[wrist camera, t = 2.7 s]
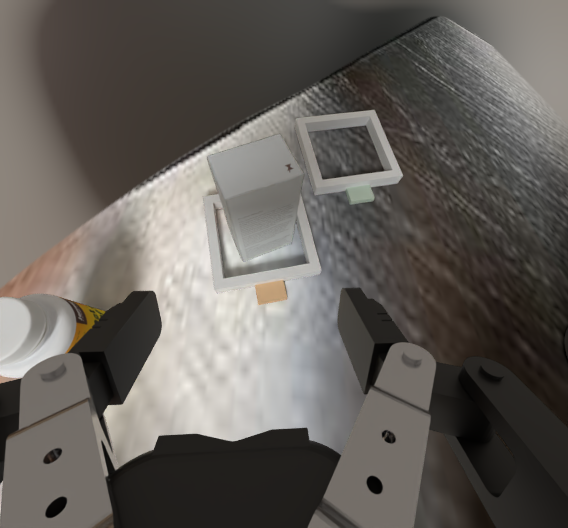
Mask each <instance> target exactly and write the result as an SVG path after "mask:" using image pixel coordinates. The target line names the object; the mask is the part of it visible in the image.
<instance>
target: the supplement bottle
mask: <svg viewBox="0 0 568 528" xmlns="http://www.w3.org/2000/svg"><path fill="white" fill-rule="evenodd" d="M105 312H106V311H102V310H99V309H96V308H93V307H90V306H87V305H83V304H80V303H77V302H74V301H70V300H67V299H64V298H61V297H58V296H54V295H50V294H32V295H27V296H24V297H21V298H13V297H0V375H1V376H5V377H10V378H23V376H24V375H25V373H26V372H27V371H28V370H30V369H31V368H32V367H33V366H35V365H36V364H38V363H40V362H41V361H43V360H45V359H47V358H50V357H53V356H56V355H59V354H65V353H68V352H69V351H70V350H71V348H72V347H73V346H74V345H75V344H76V343H77V342H78V341H79V340H80V339H81V338H82V337H83V336H84V335H85V334H86V332H87V331H88V330H89V329H92V326H93V325H94V324H95V323H96V322H97V321H99V319H100V317H101V316H102V315H103V314H104V313H105Z"/></svg>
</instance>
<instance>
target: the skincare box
mask: <svg viewBox="0 0 568 528" xmlns="http://www.w3.org/2000/svg"><path fill="white" fill-rule="evenodd" d="M207 160H208V163H209V167H210V170H211V173H212V176H213V179H214V182H215V185H216V188H217V191H218V195H219V198H220V201H221V204H222V207H223V210H224V213H225V217H226V220H227V223H228V226H229V229H230V232H231V235H232V237H233V240H234V242H235V245H236V247H237V250H238V252H239V255H240V257H241V259H242V261H243V262H246V261H248V260H251V259H253V258H256V257H258V256H261V255H263V254H266V253H269V252H271V251H274V250H276V249H279V248H281V247H284V246H287V245H289V244H291V243H292V239H293V233H294V227H295V222H296V216H297V211H298V205H299V200H300V194H301V188H302V183H303V178H304V172H303V171H302V169H301V168H300V166H299V164H298V163H297V161H296V159H295V158H294V156H293V154H292V153H291V151H290V149H289V147H288V146H287V144H286V142H285V140H284V139H283V137H282V136H281V134H276V135H273V136H270V137H267V138H264V139H261V140H258V141H255V142H251V143H248V144H245V145H241V146H238V147H235V148H232V149H229V150H225V151H222V152H219V153H216V154H212V155H209V156H207Z"/></svg>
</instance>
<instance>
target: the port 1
mask: <svg viewBox="0 0 568 528" xmlns="http://www.w3.org/2000/svg"><path fill="white" fill-rule="evenodd" d="M203 203H204V211H205V219H206V227H207V235H208V243H209V251H210V259H211V267H212V275H213V284H214V290H215V292H216V293H217V294H218V293H223V292H229V291H234V290H240V289H245V288H250V287H255V288H256V294H257V299H258V305H261V304H266V303H272V302H277V301H282V300H287V295H286V290H285V285H284V281H288V280H294V279H299V278H305V277H310V276H315V275H319V274H320V272H321V267H320V263H319V259H318V256H317V252H316V248H315V244H314V241H313V237H312V233H311V230H310V226H309V222H308V218H307V215H306V211H305V207H304V204H303V200H302V196H301V194H300V200H299V205H298V211H297V216H296V223H297V227H298V231H299V235H300V239H301V243H302V247H303V251H304V255H305V259H306V263H307V264H303V265H297V266H291V267H286V268H280V269H275V270H269V271H263V272H258V273H252V274H246V275H241V276H235V277H230V278H225V276H224V269H223V262H222V254H221V247H220V240H219V233H218V226H217V219H216V211H215V210H217V209H223V207H222V204H221V201H220V198H219V195H218V194H215V195H208V196H203Z"/></svg>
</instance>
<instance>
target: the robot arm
mask: <svg viewBox="0 0 568 528" xmlns="http://www.w3.org/2000/svg"><path fill="white" fill-rule="evenodd" d="M161 328H162V322H161V317H160V312H159V308H158V303H157V298H156V295H155V293H154V291H133V292H132V293H131V294H130V295H129V296H128V297H127V298H126V299H125V300H124V302H123V303H119V304H117V305H115V306H114V307H112V308H110V309H109V310H107V311H106V312H105V313H104V314H103V315H102V316H101V317H100V319H99V321H97V322H96V323H95V324H94V325H93V326H92V329H89V330H88V331H87V332H86V334H85V335H84V336H83V337H82V338H81V339H80V340H79V341H78V342H77V343H76V344H75V345H74V346H73V347H72V348H71V350H70V351H69V352H68V353H65V354H59V355H56V356H53V357H50V358H47V359H45V360H43V361H41V362H40V363H38V364H36V365H35V366H33V367H32V368H31V369H30V370H28V371H27V372H26V373H25V375H24V376H23V378H21V379H17V380H13V381H9V382H5V383H1V384H0V484H1V482H2V481H3V489H2V502H1V514H0V528H413V527H414V520H415V514H416V508H417V501H418V495H419V489H420V483H421V476H422V470H423V464H424V457H425V451H426V445H427V438H428V432H429V430H433V431H437V432H441V433H444V435H445V437H446V439H447V440H448V442H449V444H450V446H451V448H452V449H453V451H454V453H455V455H456V457H457V458H458V460H459V462H460V464H461V466H462V467H463V469H464V471H465V473H466V475H467V476H468V478H469V480H470V482H471V484H472V486H473V487H474V489H475V491H476V493H477V495H478V496H479V498H480V500H481V502H482V504H483V505H484V507H485V509H486V511H487V513H488V514H489V516H490V518H491V520H492V522H493V523H494V525H495V527H496V528H568V428H567V427H566V426H565V425H564V424H563V423H562V422H561V421H560V420H559V419H558V418H557V417H556V416H555V415H554V414H553V413H552V412H551V411H550V410H549V409H548V408H547V407H546V406H545V405H544V404H543V403H542V402H541V401H540V400H539V399H538V398H537V397H536V396H535V395H534V394H533V393H532V392H531V391H530V390H529V389H528V388H527V387H526V386H525V385H524V384H523V383H522V382H521V381H520V380H519V379H518V378H517V377H516V376H515V375H514V374H513V373H512V372H511V371H510V370H509V369H507V368H506V367H505V366H503V365H501V364H499V363H498V362H495V361H493V360H490V359H488V358H484V357H477V356H474V357H469V358H467V359H466V360H465V361H464V363H463V366H462V367H458V366H453V365H448V364H443V363H439V362H435V360H434V358H433V356H432V355H431V354H430V353H429V352H427V351H426V350H425V349H423V348H421V347H419V346H417V345H414V344H411V343H409V342H408V341H407V340H406V338H405V337H404V335H403V334H402V333H401V331H400V330H399V328H398V327H397V326H396V324H395V323H394V321H392V319H391V317H390V316H389V315H388V314H387V312H386V310H385V309H384V308H383V306H382V305H381V304H379V303H378V302H376V301H375V300H374V299H367V297H366V296H365V294H364V293H363V291H362V290H361V288H342V290H341V295H340V303H339V311H338V329H339V332H340V335H341V337H342V340H343V343H344V345H345V348H346V350H347V353H348V355H349V358H350V360H351V363H352V365H353V368H354V371H355V373H356V376H357V378H358V381H359V383H360V386H361V388H362V391H363V393H364V394H367V397H366V399H365V401H364V404H363V406H362V408H361V411H360V413H359V415H358V418H357V420H356V422H355V425H354V427H353V429H352V432H351V434H350V436H349V439H348V441H347V443H346V446H345V448H344V450H343V453H342V455H340V454H339V453H337V452H336V451H334V450H333V449H331V448H329V447H327V446H325V445H323V444H320V443H317V442H314V441H310V440H309V436H308V429H307V428H295V429H276V430H269V431H266V432H263V433H260V434H257V435H254V436H251V437H248V438H245V439H241V440H238V441H233V442H232V441H226V440H222V439H217V438H213V437H209V436H204V435H200V434H183V435H164V436H159V437H158V440H157V442H156V445H155V448H154V450H152V451H149V452H146V453H144V454H142V455H140V456H138V457H136V458H134V459H132V460H130V461H129V462H127V463H126V464H124V465H123V466H121V467H119V466H118V463H117V459H116V456H115V452H114V448H113V445H112V441H111V437H110V433H109V430H108V426H107V422H106V419H105V416H104V411H105V409H106V408H107V406H108V405H121V404H123V403H124V401H125V399H126V397H127V395H128V393H129V392H130V390H131V388H132V386H133V384H134V382H135V380H136V379H137V377H138V375H139V373H140V371H141V369H142V368H143V366H144V364H145V362H146V360H147V358H148V356H149V355H150V353H151V351H152V349H153V347H154V345H155V344H156V342H157V340H158V338H159V336H160V333H161ZM564 340H565V350H566V354H567V358H568V328H567V330H566V333H565V339H564ZM496 431H497V432H498V434H499V435H500V436H501V438H502V439H503V440H504V442H505V443H506V444H507V446H508V447H509V449H510V450H511V452H512V453H513V455H514V457H513V456H512V455H511V453H510V452H509V451H508V449H507V448H506V447H505V445H504V444H503V443H502V441H501V440H500V438H499V437H498V436H497V434H496V433H495V432H496ZM514 458H515V459H514Z"/></svg>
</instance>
